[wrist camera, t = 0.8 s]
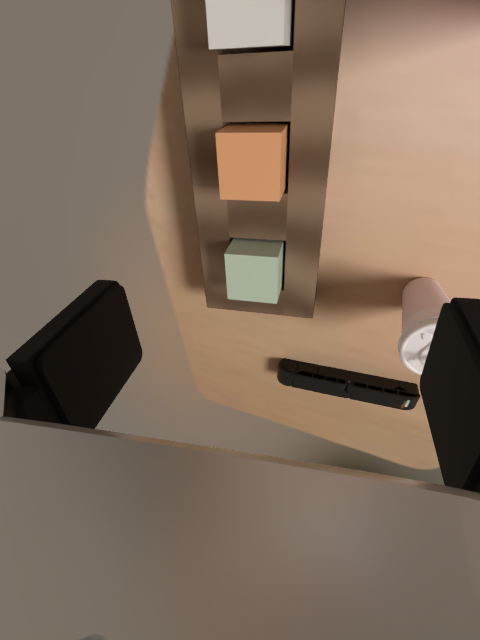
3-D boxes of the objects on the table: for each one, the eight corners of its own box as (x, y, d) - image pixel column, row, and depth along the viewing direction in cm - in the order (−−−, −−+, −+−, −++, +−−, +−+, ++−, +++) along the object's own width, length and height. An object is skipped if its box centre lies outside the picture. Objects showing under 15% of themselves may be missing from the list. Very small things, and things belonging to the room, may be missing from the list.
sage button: (235, 235, 36) (224, 253, 33) (284, 238, 35) (278, 257, 32) (237, 278, 39) (227, 299, 36) (282, 282, 38) (277, 303, 35)
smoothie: (383, 313, 40) (396, 409, 30) (396, 262, 37) (417, 352, 26) (444, 320, 39) (481, 423, 28) (464, 268, 35) (517, 365, 24)
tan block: (229, 123, 30) (215, 132, 27) (288, 123, 29) (281, 132, 26) (232, 184, 33) (220, 199, 30) (286, 186, 32) (279, 201, 29)
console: (179, -101, 25) (156, -123, 22) (358, -129, 22) (360, -157, 19) (216, 289, 44) (207, 307, 41) (315, 298, 41) (312, 318, 38)
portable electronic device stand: (278, 368, 50) (275, 384, 48) (280, 355, 48) (277, 370, 46) (411, 395, 47) (415, 413, 45) (418, 382, 46) (422, 399, 43)
